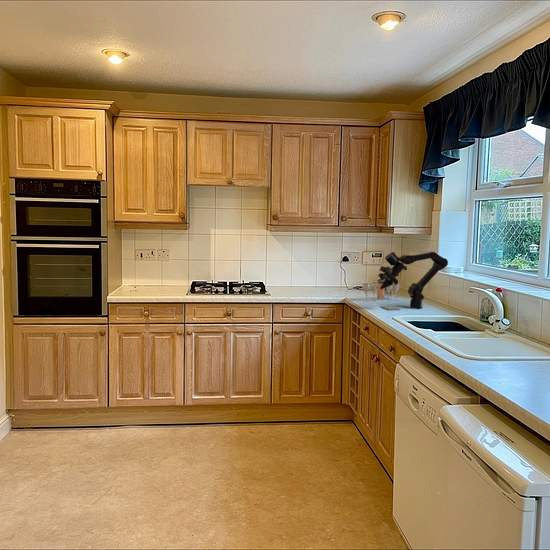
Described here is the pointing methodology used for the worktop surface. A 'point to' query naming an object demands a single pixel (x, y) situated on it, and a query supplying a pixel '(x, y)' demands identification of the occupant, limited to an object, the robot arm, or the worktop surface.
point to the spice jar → (380, 291)
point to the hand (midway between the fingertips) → (378, 288)
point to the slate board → (390, 307)
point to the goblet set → (374, 285)
